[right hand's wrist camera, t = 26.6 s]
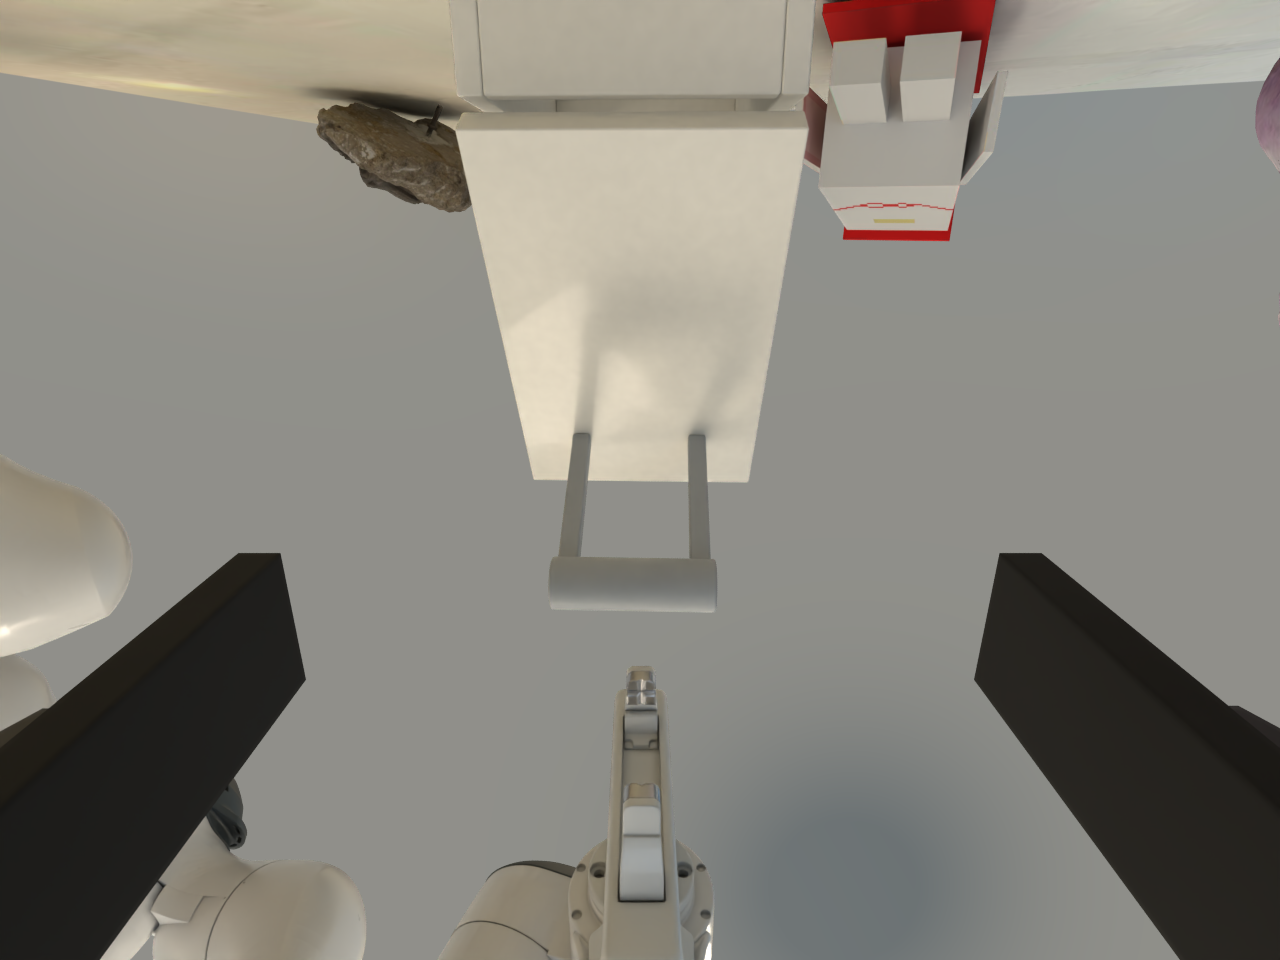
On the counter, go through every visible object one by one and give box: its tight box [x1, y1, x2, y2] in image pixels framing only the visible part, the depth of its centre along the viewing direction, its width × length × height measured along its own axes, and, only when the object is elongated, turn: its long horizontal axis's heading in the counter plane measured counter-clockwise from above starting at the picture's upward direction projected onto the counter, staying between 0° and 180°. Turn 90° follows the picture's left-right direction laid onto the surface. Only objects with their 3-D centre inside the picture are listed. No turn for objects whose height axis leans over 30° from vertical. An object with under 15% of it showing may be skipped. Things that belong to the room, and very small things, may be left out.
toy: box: [795, 0, 1008, 241], centre depth 50 cm, size 12×13×30 cm
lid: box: [455, 111, 809, 612], centre depth 22 cm, size 15×9×9 cm
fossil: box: [316, 103, 472, 212], centre depth 75 cm, size 22×10×15 cm
